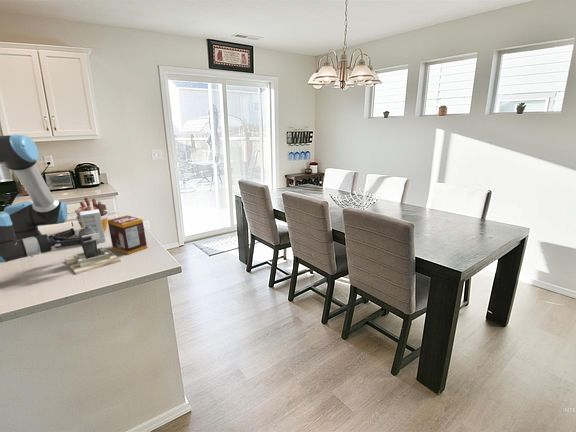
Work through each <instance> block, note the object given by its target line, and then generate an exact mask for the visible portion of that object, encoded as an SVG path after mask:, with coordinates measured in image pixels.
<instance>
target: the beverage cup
mask: <svg viewBox="0 0 576 432" xmlns="http://www.w3.org/2000/svg"><path fill="white" fill-rule="evenodd" d="M81 220H82V223H83V227H84V228H82V229H81V230H80V231H79V234H78V235H77V237H82V236H85V235H90V234H94V233H96V232H95V230H94V229H92V228H90V227H85V225H84V222H83V219H82V218H81ZM97 244H98V243H97V242H96V240H92V241H88V242H84V245H81V248H82V251H83V252H84V254H85V257H86V259H89V258H93V257H97V256H98V253H97V249H98V245H97Z"/></svg>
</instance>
